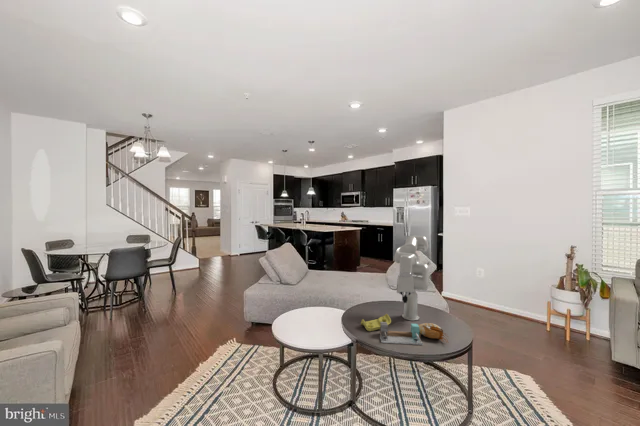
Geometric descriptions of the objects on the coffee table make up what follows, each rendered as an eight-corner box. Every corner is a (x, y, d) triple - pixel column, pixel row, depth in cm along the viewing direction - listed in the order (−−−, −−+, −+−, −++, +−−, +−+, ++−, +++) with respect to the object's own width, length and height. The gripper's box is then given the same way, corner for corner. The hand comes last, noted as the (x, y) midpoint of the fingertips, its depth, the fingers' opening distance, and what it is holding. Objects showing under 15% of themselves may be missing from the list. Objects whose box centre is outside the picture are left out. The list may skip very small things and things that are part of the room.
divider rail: (380, 333, 179) (380, 321, 179) (418, 335, 177) (419, 323, 177) (382, 341, 168) (383, 329, 167) (424, 344, 166) (424, 331, 165)
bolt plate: (379, 337, 174) (379, 335, 174) (419, 339, 172) (419, 337, 172) (381, 342, 167) (381, 340, 167) (422, 345, 165) (422, 343, 165)
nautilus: (455, 344, 167) (437, 350, 161) (429, 328, 186) (412, 332, 180) (456, 332, 166) (438, 337, 160) (429, 317, 186) (412, 321, 180)
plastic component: (368, 329, 180) (361, 317, 188) (366, 336, 183) (359, 324, 192) (393, 323, 186) (386, 312, 195) (391, 330, 190) (384, 319, 198)
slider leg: (410, 334, 177) (410, 323, 177) (416, 335, 177) (417, 323, 177) (415, 343, 166) (415, 331, 166) (422, 343, 166) (422, 331, 166)
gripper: (415, 273, 178) (414, 300, 179) (392, 272, 179) (392, 299, 180) (418, 276, 171) (418, 304, 172) (394, 275, 172) (394, 303, 173)
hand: (404, 302), depth 176 cm, fingers closed
